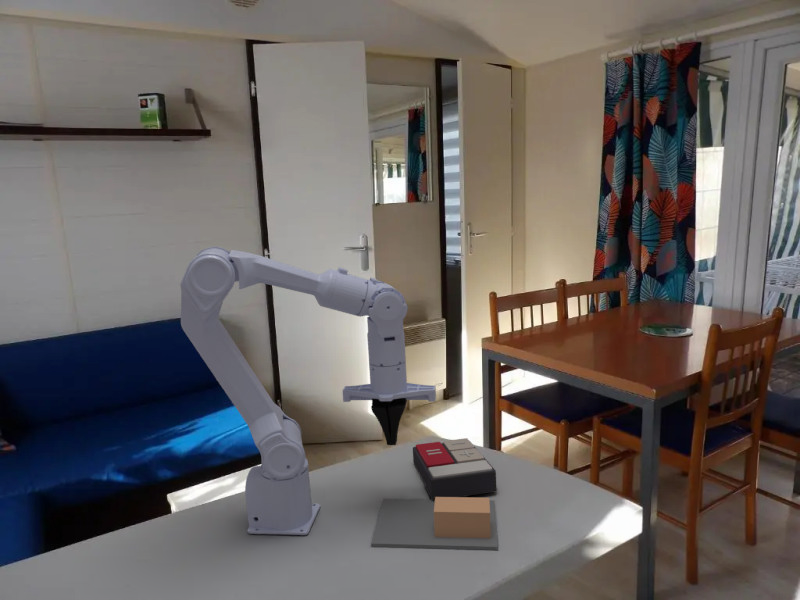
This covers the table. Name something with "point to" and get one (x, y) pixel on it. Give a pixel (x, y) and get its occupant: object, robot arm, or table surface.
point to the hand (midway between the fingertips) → (392, 442)
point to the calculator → (454, 469)
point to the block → (462, 517)
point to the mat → (422, 527)
